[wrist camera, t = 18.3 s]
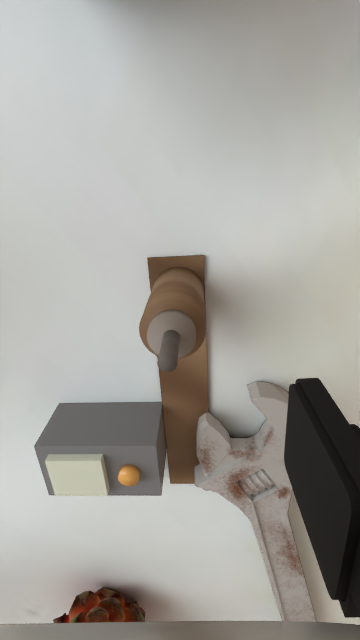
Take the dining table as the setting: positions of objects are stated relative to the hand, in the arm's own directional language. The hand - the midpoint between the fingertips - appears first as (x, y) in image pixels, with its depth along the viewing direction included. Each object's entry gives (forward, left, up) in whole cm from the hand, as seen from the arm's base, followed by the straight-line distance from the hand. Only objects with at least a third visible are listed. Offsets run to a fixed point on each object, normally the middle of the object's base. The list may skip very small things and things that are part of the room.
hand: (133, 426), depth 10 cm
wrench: (-22, -4, -9) cm, 24 cm away
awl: (+1, -1, -10) cm, 10 cm away
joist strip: (-6, -1, -10) cm, 12 cm away
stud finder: (-9, +4, -11) cm, 15 cm away
